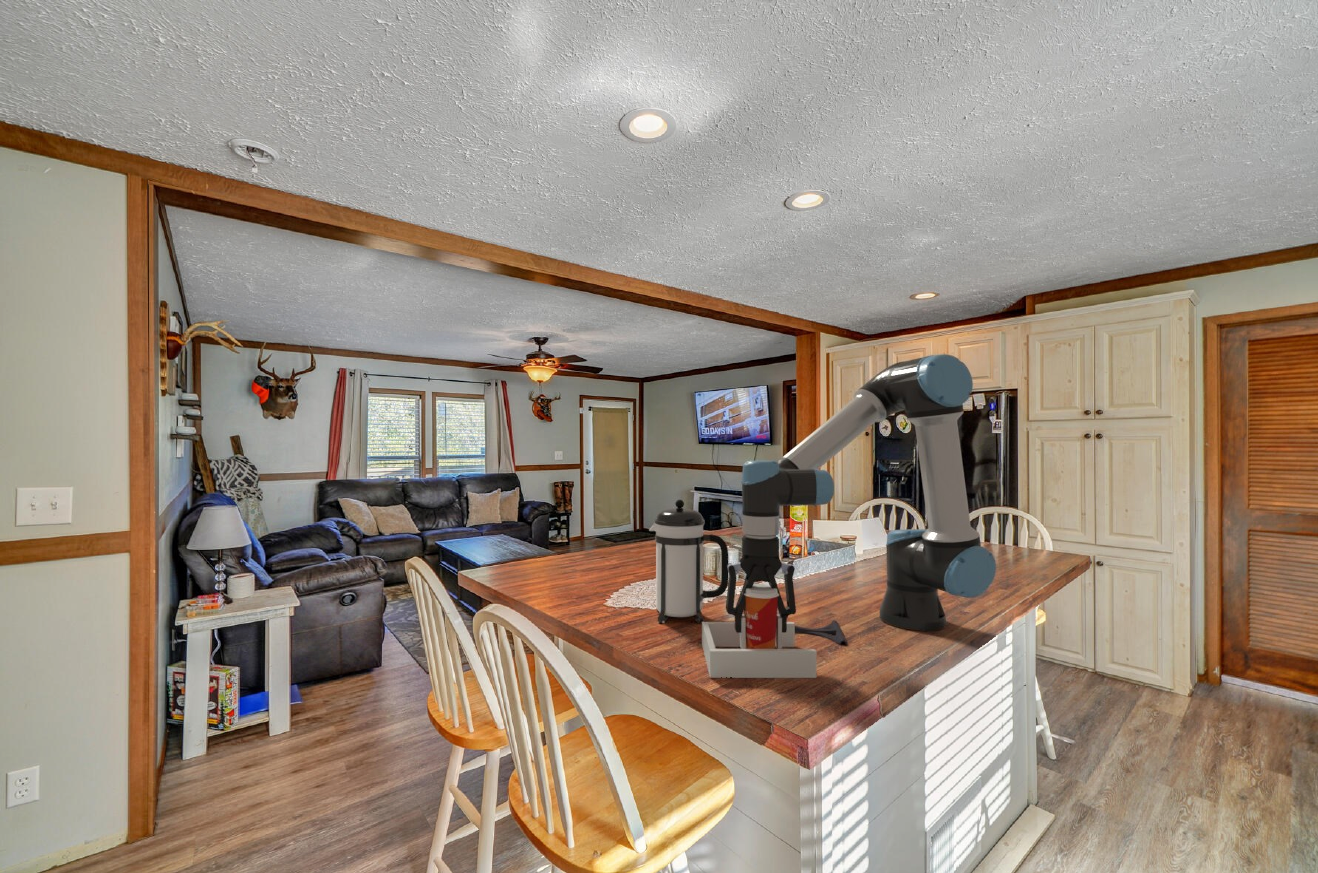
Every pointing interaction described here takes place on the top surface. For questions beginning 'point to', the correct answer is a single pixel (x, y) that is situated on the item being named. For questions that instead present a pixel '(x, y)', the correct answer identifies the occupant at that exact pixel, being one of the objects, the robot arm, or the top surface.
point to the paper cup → (760, 616)
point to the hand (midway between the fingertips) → (760, 647)
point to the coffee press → (683, 563)
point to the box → (754, 655)
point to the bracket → (825, 632)
